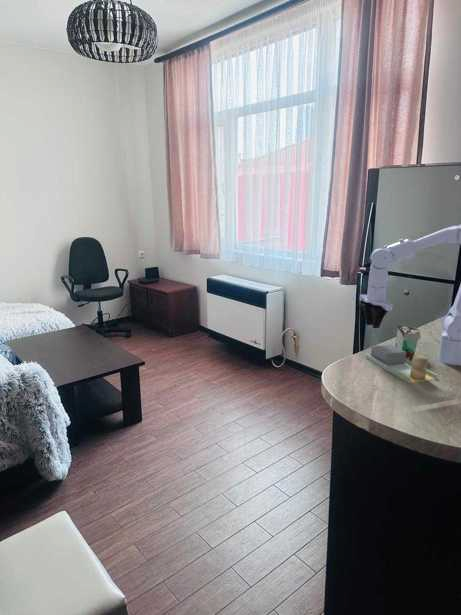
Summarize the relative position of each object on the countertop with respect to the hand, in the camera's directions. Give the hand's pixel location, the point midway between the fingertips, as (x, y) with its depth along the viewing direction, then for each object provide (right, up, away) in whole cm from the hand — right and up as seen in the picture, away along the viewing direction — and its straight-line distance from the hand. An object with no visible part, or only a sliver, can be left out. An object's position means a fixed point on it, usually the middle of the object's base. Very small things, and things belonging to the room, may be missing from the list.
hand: (372, 326), depth 141 cm
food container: (+11, -11, 0) cm, 16 cm away
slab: (+3, -11, -6) cm, 13 cm away
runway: (+4, -13, -11) cm, 17 cm away
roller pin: (+7, -14, -18) cm, 24 cm away
